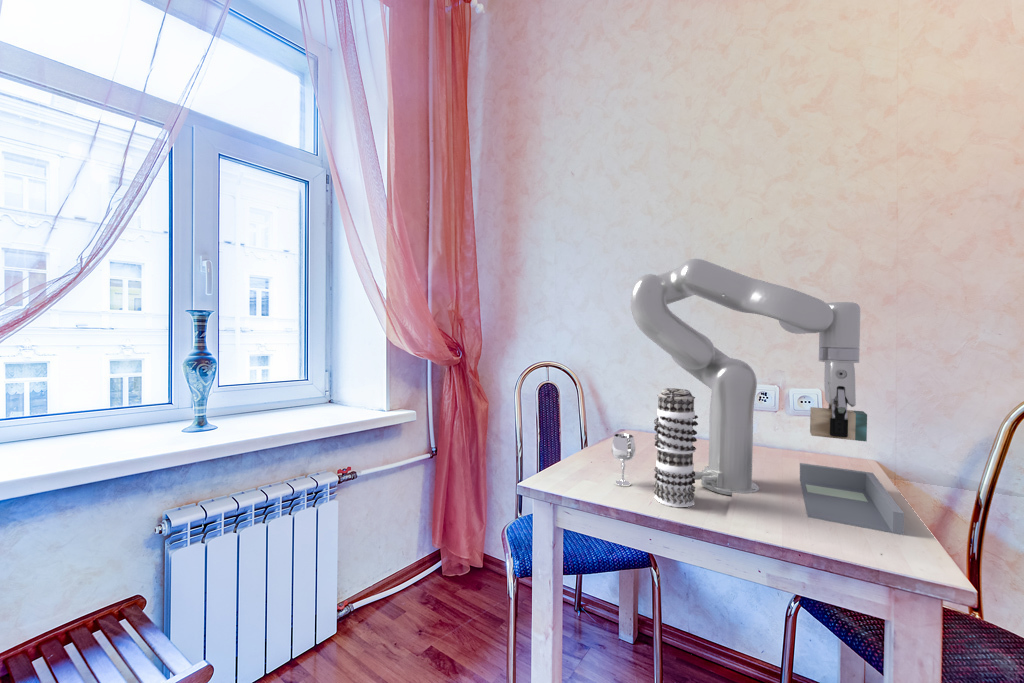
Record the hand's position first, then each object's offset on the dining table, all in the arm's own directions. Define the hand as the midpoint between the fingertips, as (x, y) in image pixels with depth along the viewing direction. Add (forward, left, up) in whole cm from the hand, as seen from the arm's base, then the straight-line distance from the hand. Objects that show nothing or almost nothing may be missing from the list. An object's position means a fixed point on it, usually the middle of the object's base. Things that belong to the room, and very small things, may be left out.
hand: (836, 433), depth 100 cm
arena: (-3, -5, -15) cm, 16 cm away
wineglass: (-46, +15, -15) cm, 50 cm away
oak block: (0, 0, -1) cm, 1 cm away
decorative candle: (-39, +3, -15) cm, 42 cm away
